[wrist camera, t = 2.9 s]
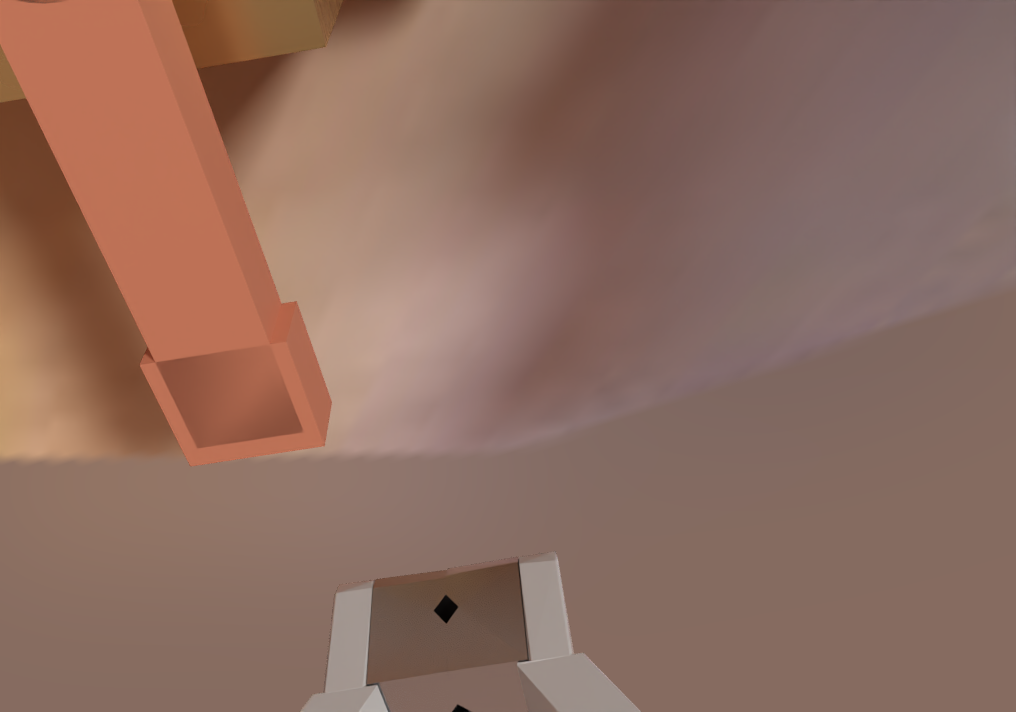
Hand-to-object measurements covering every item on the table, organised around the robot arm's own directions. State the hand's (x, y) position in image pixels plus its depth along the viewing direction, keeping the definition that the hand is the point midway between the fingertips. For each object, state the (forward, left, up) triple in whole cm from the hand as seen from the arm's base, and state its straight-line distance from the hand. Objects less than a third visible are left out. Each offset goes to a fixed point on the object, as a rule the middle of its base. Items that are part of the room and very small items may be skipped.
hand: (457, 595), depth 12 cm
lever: (+5, -4, -9) cm, 11 cm away
